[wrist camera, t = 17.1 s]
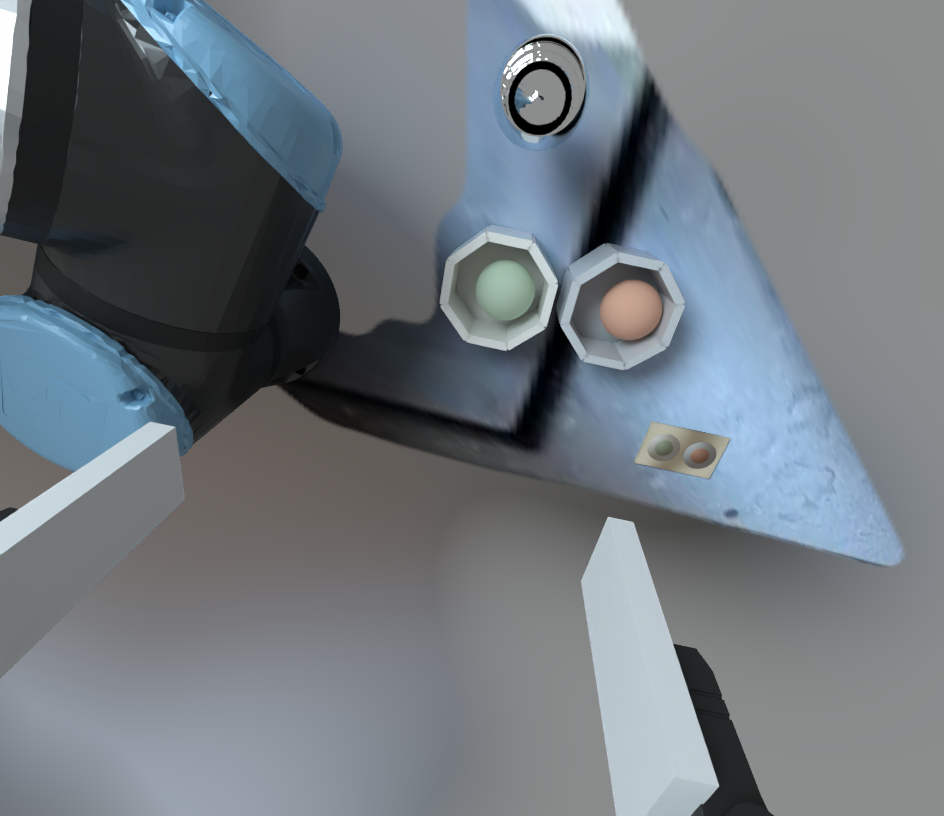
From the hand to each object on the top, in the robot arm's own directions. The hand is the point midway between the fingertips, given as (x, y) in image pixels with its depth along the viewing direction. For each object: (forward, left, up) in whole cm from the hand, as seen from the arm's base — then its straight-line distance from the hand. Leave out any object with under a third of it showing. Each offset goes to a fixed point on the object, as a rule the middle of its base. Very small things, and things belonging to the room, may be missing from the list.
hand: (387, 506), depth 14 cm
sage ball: (+2, +1, -31) cm, 31 cm away
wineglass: (+2, +14, -32) cm, 35 cm away
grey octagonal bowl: (+12, +1, -32) cm, 34 cm away
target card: (+24, -12, -32) cm, 41 cm away
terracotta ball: (+12, +1, -31) cm, 33 cm away
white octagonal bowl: (+2, +1, -32) cm, 32 cm away
